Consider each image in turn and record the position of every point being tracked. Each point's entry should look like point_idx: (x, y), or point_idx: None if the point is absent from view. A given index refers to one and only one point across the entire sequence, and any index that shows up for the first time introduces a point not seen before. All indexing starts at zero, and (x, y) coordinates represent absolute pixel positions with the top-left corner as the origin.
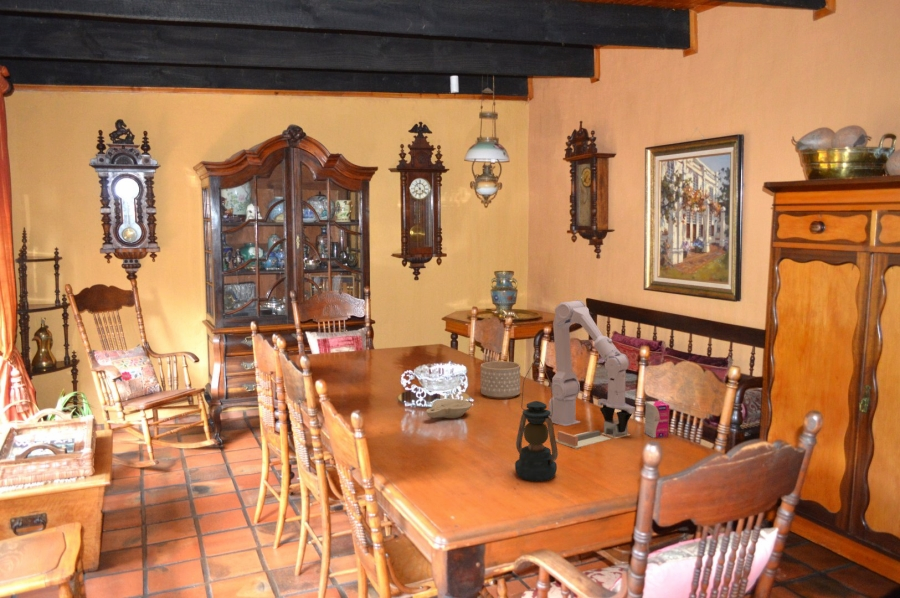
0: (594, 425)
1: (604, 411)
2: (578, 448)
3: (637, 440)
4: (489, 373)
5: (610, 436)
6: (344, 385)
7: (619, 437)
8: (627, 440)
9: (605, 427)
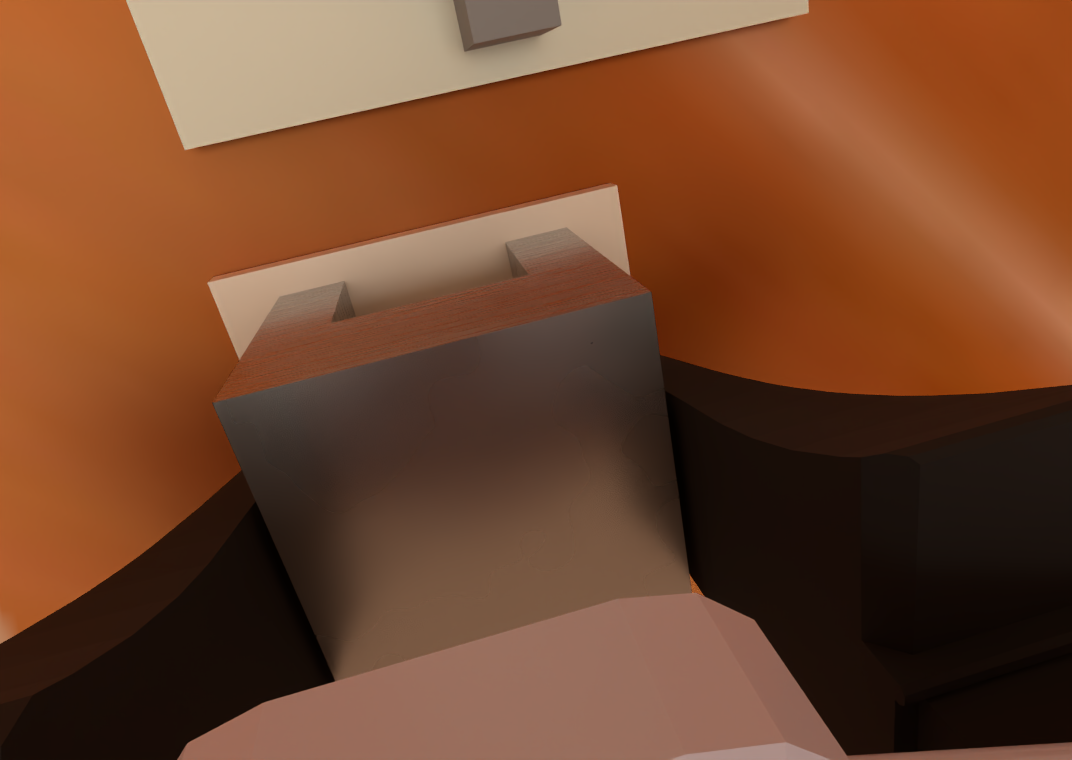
0: (1026, 382)
1: (849, 449)
2: None
3: (62, 575)
4: None
5: (367, 245)
6: None
7: None
8: (103, 430)
9: (558, 265)
